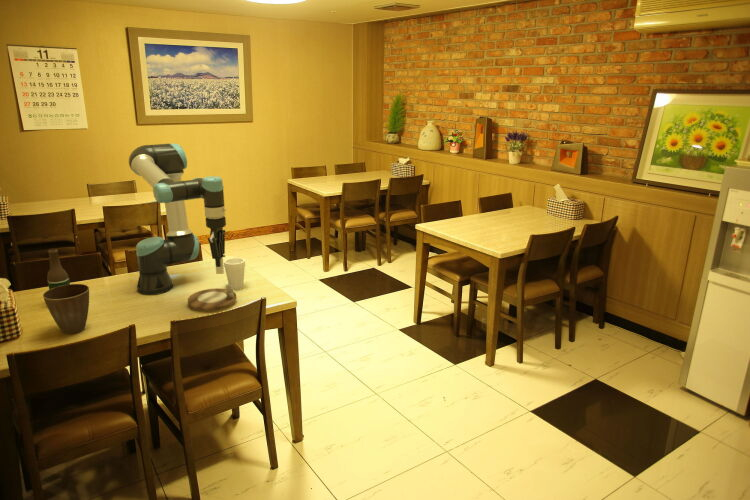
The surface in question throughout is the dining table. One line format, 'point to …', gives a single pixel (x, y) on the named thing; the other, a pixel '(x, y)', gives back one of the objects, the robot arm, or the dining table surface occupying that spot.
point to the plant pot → (68, 306)
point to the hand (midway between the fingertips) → (220, 273)
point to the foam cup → (235, 272)
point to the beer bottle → (56, 271)
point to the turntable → (212, 298)
